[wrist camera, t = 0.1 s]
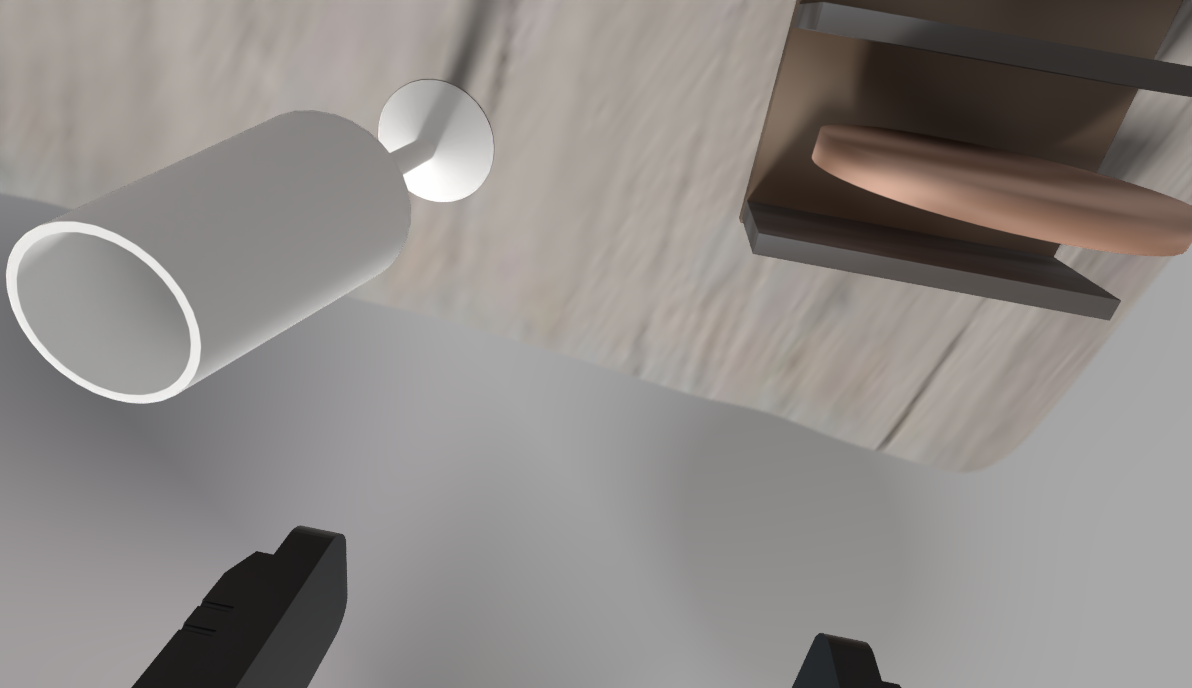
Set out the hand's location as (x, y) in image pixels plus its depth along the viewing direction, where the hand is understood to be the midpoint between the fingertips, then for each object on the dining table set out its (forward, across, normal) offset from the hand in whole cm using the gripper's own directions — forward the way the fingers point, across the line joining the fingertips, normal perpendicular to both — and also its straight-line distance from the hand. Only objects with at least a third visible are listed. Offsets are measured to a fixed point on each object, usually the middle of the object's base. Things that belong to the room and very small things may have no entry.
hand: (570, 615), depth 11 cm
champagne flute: (+29, +12, -1) cm, 32 cm away
